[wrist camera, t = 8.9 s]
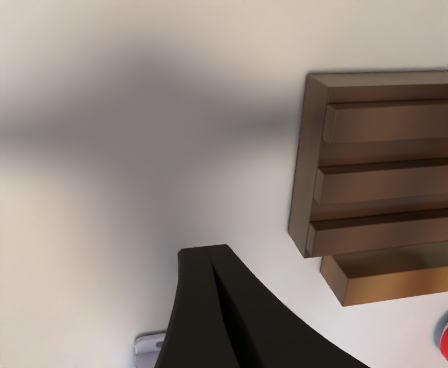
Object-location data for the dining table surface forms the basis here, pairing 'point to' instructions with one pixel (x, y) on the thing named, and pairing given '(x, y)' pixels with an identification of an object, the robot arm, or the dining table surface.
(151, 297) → the dining table surface
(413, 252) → the back rail
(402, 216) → the trivet
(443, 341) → the beverage can
